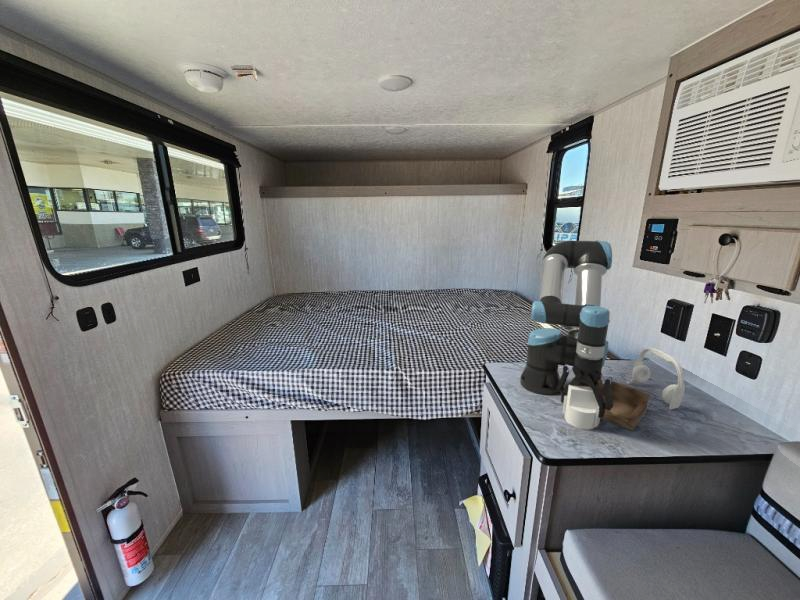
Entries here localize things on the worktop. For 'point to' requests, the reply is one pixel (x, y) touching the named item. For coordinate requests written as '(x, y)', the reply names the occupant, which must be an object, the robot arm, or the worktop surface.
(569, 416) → the cylinder with rectangular tab
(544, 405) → the worktop surface
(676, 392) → the headset
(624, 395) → the caddy
